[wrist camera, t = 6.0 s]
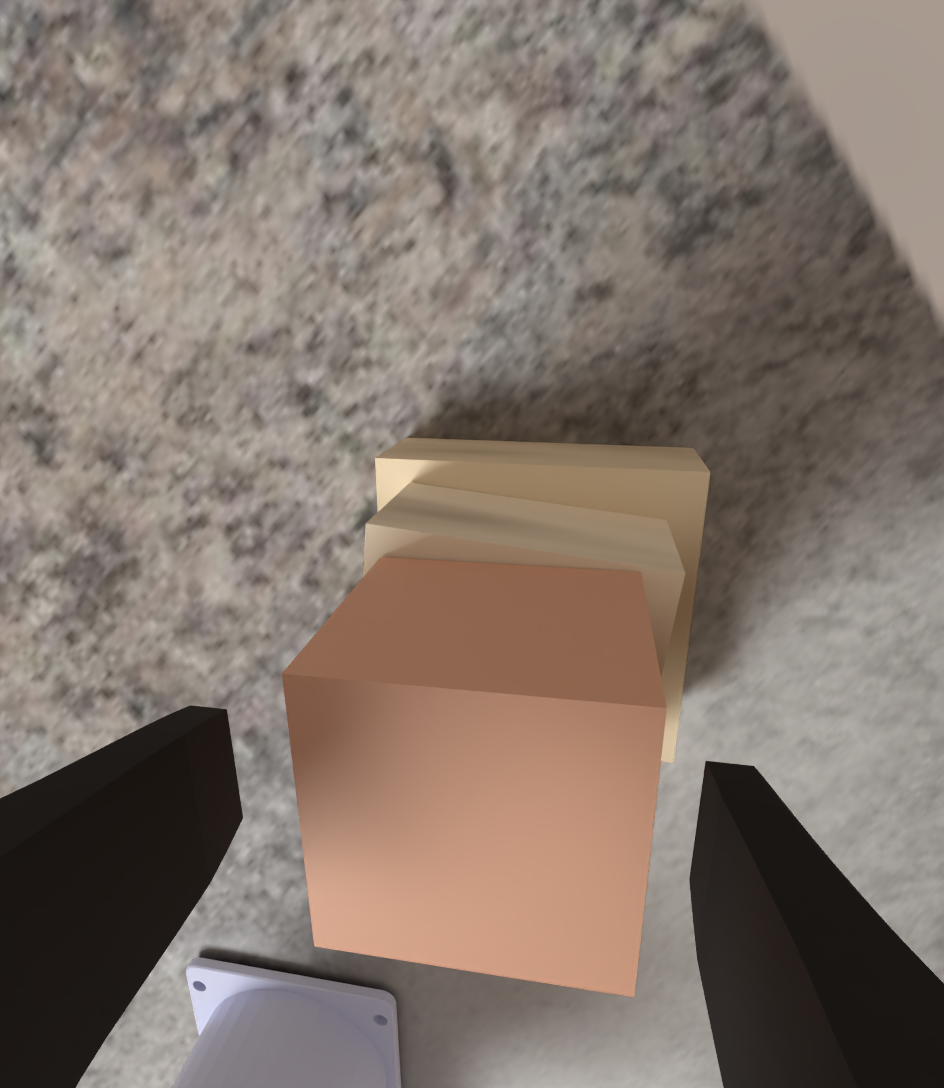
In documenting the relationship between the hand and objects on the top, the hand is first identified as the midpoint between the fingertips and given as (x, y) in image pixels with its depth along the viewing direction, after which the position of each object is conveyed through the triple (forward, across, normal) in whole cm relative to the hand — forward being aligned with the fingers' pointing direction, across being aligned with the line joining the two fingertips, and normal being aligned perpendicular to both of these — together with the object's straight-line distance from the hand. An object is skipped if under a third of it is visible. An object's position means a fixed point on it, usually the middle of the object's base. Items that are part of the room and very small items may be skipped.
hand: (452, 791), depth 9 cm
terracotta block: (+3, 0, 0) cm, 3 cm away
